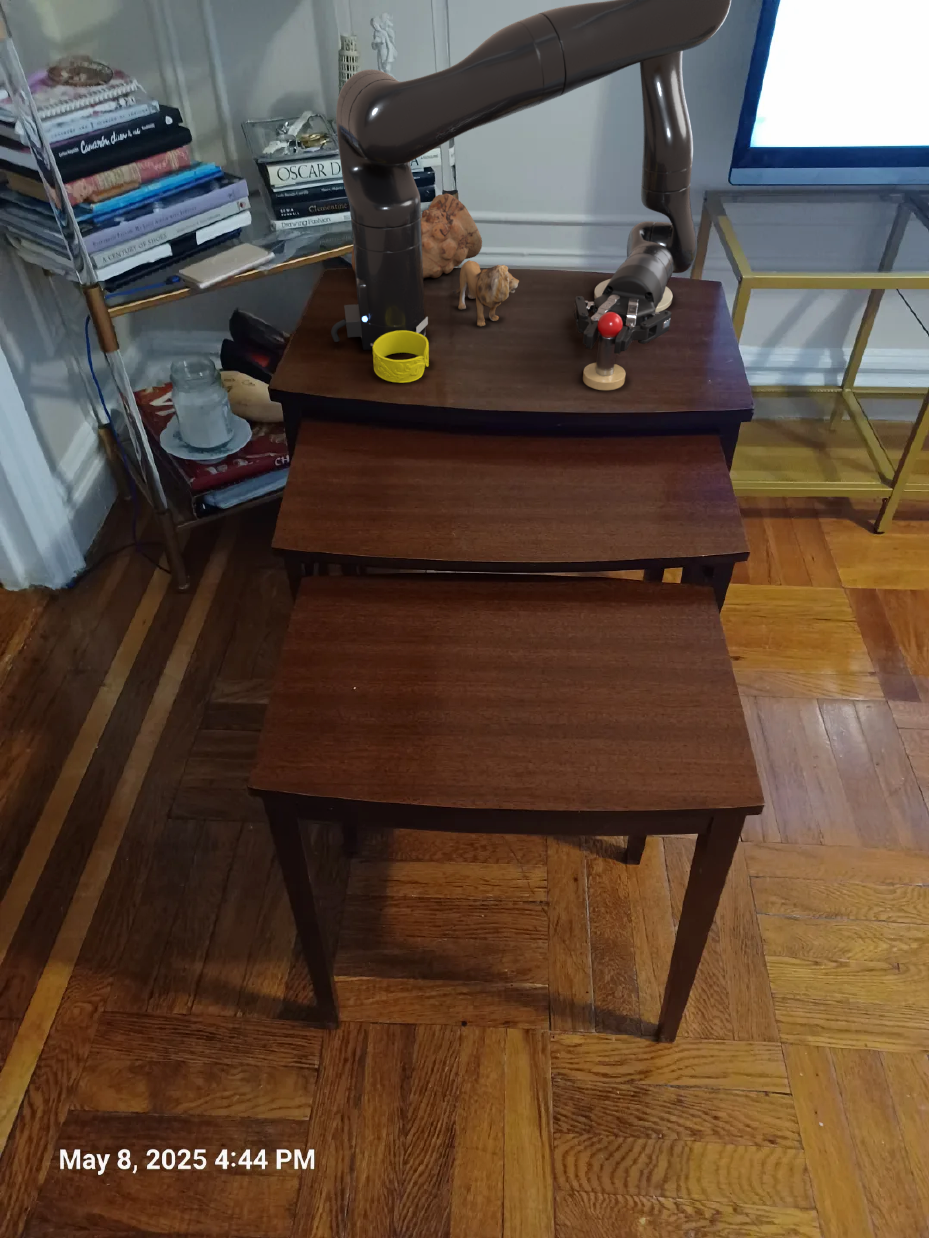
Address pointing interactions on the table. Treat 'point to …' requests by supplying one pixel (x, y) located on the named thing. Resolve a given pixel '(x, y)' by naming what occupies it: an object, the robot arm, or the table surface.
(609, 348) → the red ball post
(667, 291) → the plate
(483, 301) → the lion figurine
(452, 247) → the brown bumpy lump
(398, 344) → the bracelet
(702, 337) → the table surface
